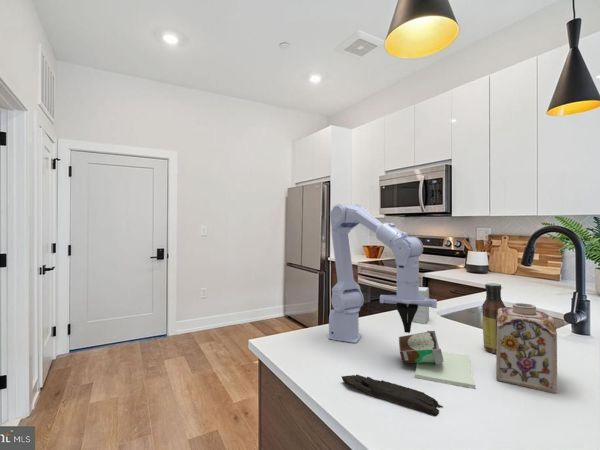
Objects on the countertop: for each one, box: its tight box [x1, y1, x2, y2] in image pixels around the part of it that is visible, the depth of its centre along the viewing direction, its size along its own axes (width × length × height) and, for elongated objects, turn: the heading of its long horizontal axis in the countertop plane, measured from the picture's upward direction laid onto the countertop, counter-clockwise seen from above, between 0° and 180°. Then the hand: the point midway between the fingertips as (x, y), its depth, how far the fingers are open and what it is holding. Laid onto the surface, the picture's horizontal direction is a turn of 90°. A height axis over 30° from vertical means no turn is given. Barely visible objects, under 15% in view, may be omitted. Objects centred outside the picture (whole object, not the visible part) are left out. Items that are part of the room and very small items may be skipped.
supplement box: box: [407, 286, 430, 324], centre depth 125 cm, size 7×7×13 cm
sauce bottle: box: [482, 282, 507, 355], centre depth 95 cm, size 6×6×20 cm
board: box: [414, 350, 476, 389], centre depth 84 cm, size 13×18×1 cm
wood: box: [341, 374, 444, 417], centre depth 71 cm, size 22×7×3 cm, turn 57°
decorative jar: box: [495, 302, 558, 394], centre depth 79 cm, size 12×12×18 cm
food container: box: [398, 330, 444, 365], centre depth 86 cm, size 12×6×10 cm
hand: (407, 331), depth 87 cm, fingers closed
